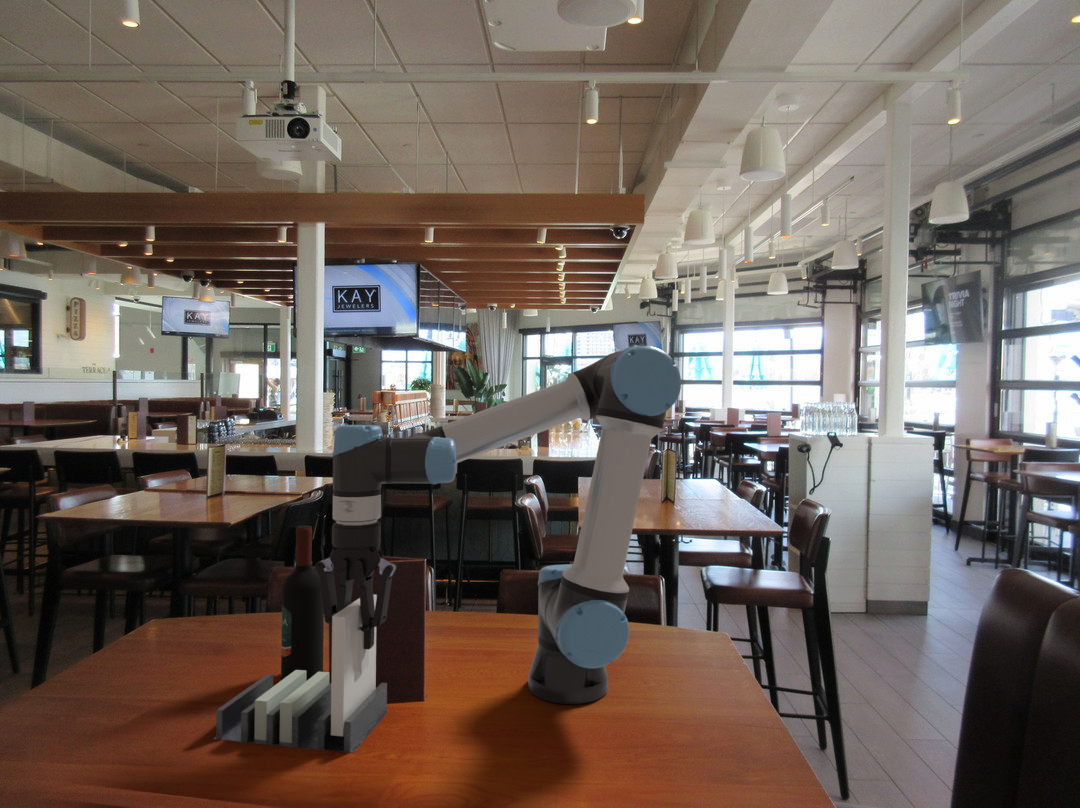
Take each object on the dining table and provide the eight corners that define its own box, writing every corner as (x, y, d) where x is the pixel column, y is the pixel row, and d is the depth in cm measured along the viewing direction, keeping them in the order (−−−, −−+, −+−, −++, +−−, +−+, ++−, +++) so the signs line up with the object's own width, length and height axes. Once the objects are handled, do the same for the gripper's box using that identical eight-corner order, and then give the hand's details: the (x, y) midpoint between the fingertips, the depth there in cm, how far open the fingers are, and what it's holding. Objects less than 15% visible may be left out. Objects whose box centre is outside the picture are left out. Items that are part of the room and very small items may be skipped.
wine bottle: (309, 695, 120) (311, 531, 120) (272, 691, 122) (274, 529, 122) (330, 678, 127) (332, 524, 128) (295, 674, 129) (297, 522, 129)
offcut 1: (306, 705, 113) (306, 670, 113) (266, 740, 101) (266, 701, 101) (295, 704, 113) (295, 669, 113) (254, 739, 101) (254, 700, 101)
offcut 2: (328, 707, 112) (329, 672, 112) (291, 742, 100) (292, 703, 100) (318, 706, 112) (318, 671, 112) (279, 741, 100) (279, 702, 100)
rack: (389, 718, 111) (389, 683, 111) (353, 762, 97) (353, 722, 97) (264, 707, 115) (265, 673, 115) (213, 748, 101) (213, 709, 101)
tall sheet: (375, 701, 111) (376, 594, 111) (343, 736, 99) (344, 617, 99) (364, 700, 111) (365, 594, 111) (330, 735, 99) (332, 616, 99)
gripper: (301, 523, 102) (299, 673, 102) (392, 526, 100) (390, 681, 100) (324, 515, 110) (322, 655, 110) (409, 518, 108) (408, 662, 107)
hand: (354, 667), depth 105 cm, fingers closed on tall sheet, 2 cm apart
